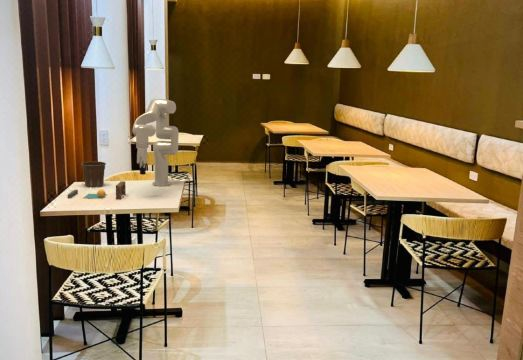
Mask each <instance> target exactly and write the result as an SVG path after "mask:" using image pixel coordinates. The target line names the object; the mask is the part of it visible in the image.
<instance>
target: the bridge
mask: <svg viewBox="0 0 523 360" xmlns="http://www.w3.org/2000/svg"><path fill="white" fill-rule="evenodd" d="M126 190H127V189H126V181H125V180H124V181H121V180H120V181H119V182H118V183H117V184H116V185H115V200H123V199H122V196H126V195H127V194H126Z"/></svg>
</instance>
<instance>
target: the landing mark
mask: <svg viewBox="0 0 523 360" xmlns="http://www.w3.org/2000/svg"><path fill="white" fill-rule="evenodd" d="M107 195H108V194H107V193H105V196H104V197H99V196H98V195H97V193H88V194H86V195H85V196H84V197H83V199H92V200H93V199H95V200H96V199H98V200H99V199H100V200H101V199H104V198H105V197H106V196H107Z"/></svg>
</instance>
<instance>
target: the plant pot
mask: <svg viewBox="0 0 523 360" xmlns="http://www.w3.org/2000/svg"><path fill="white" fill-rule="evenodd" d="M106 165H107V163H106V162H105V161H85V162H82V163H81V167H82V170H83V171H82V172H83V173H82V174H83V178H84V186H85V187H86V186H87V187H86V188H90V187H92V188H91V189H93V187H97V188H99V187H100V188H102V187H104V180H105V170H106Z"/></svg>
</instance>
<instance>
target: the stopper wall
mask: <svg viewBox="0 0 523 360" xmlns="http://www.w3.org/2000/svg"><path fill="white" fill-rule="evenodd" d="M78 194H79V190H78V189H73V190H72V191H70V192H69V193H67V199H73V198H74V197H75V196H77V195H78Z"/></svg>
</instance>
